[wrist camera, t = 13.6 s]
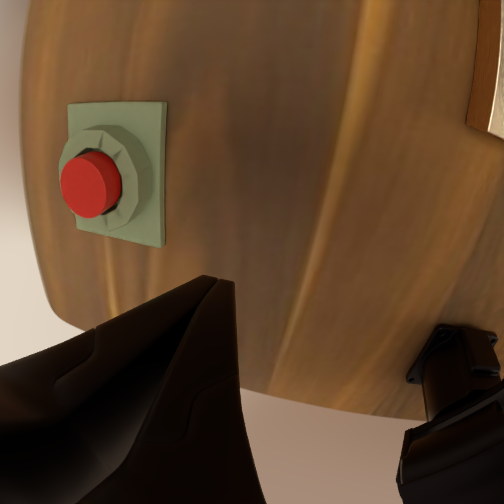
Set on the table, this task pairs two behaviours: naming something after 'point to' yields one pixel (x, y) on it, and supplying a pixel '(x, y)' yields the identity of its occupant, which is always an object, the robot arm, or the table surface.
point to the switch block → (124, 164)
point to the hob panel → (489, 71)
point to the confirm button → (90, 184)
